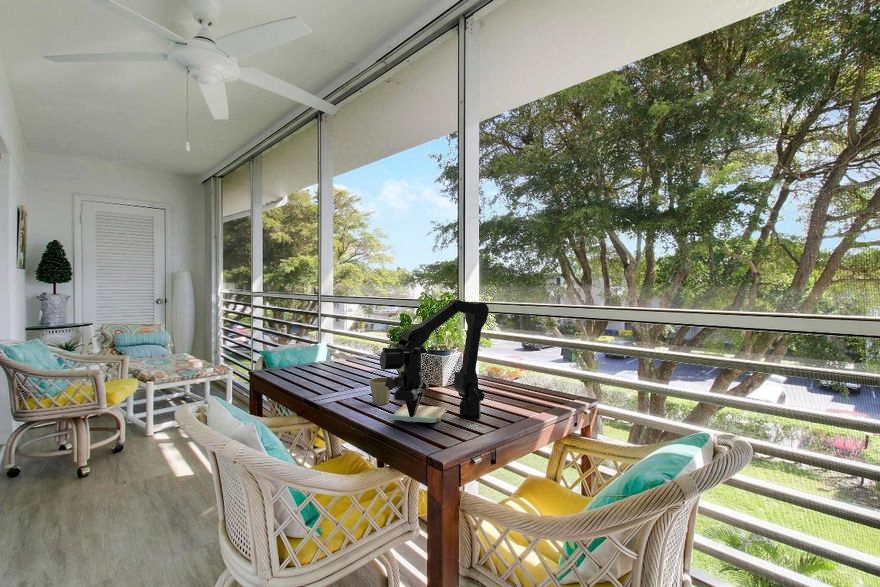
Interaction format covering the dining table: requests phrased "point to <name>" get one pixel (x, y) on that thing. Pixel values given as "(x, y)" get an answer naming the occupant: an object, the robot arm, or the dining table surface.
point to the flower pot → (379, 391)
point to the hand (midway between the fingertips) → (412, 416)
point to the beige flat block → (424, 412)
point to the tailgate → (412, 418)
